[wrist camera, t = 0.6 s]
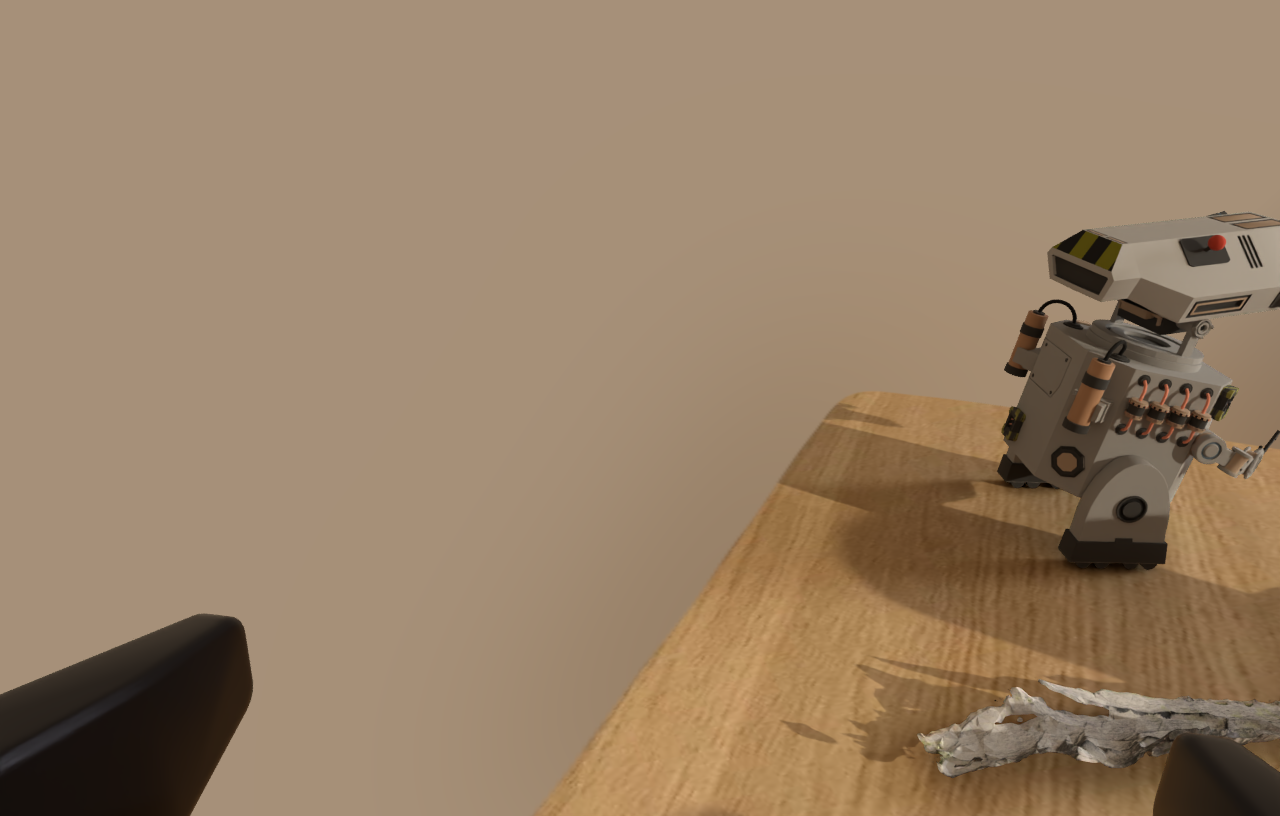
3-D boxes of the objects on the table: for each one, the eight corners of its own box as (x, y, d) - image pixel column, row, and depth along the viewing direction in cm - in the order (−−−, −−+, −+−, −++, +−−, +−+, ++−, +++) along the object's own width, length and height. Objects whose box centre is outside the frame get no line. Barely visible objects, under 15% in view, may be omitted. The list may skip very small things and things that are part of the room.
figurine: (1288, 576, 40) (1411, 246, 34) (1033, 570, 40) (1111, 239, 34) (1177, 480, 48) (1260, 202, 42) (966, 475, 48) (1020, 196, 42)
